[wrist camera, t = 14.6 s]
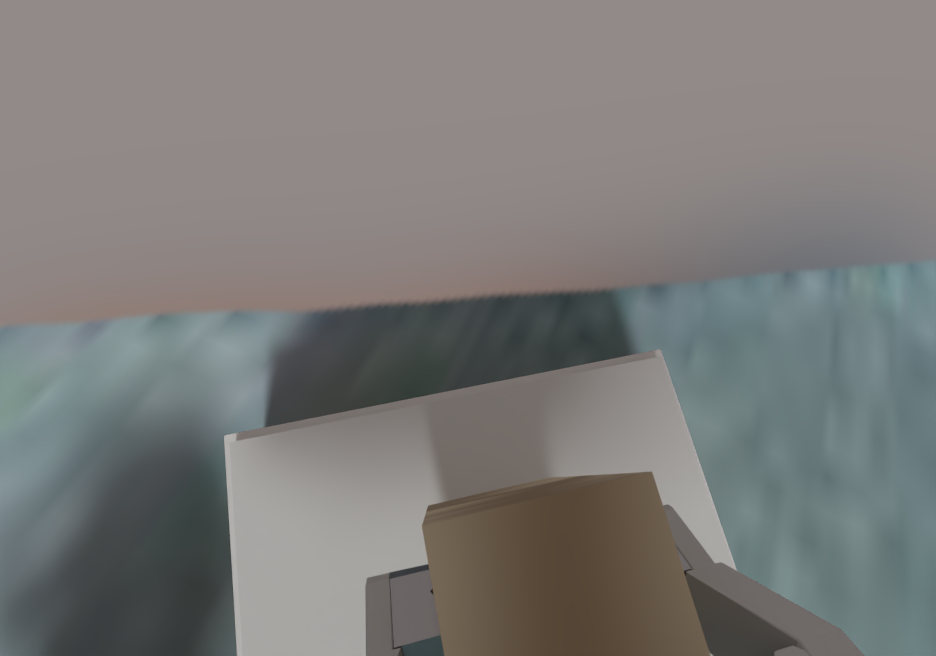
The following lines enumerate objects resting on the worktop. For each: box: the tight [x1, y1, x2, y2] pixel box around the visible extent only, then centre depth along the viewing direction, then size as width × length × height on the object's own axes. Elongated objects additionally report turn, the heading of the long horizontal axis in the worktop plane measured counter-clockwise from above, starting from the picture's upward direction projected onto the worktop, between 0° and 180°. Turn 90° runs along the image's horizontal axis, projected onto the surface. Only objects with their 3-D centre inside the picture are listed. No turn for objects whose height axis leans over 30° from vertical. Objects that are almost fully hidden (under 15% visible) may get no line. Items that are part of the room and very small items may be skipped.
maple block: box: [422, 472, 710, 656], centre depth 11 cm, size 4×4×8 cm
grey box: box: [224, 349, 737, 656], centre depth 19 cm, size 18×12×5 cm, turn 102°
